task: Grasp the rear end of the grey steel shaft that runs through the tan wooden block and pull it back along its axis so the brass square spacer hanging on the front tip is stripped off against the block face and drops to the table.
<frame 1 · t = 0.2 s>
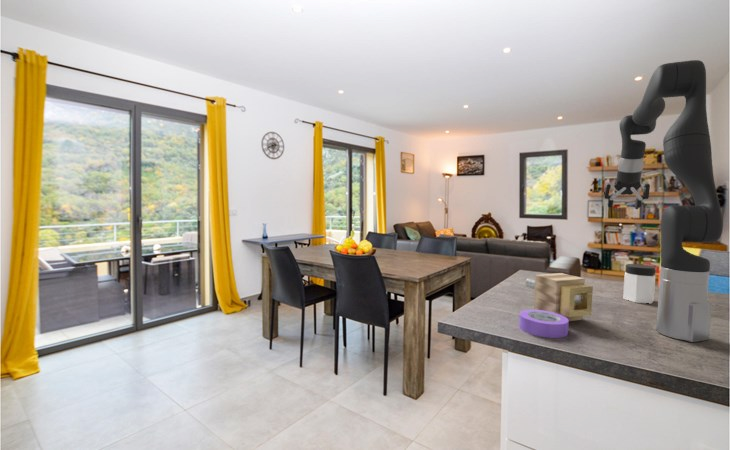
hand: (623, 208, 140), 31 cm above the worktop, tool tilted 20°, fingers open, 8 cm apart
jar: (638, 300, 122), on the worktop
spacer: (575, 314, 98), point 3 cm above the worktop, touching shaft
masking tape: (542, 330, 94), on the worktop
tan wooden block: (557, 316, 104), on the worktop
shaft: (552, 289, 106), point 8 cm above the worktop, slide at 0.0 cm, touching spacer
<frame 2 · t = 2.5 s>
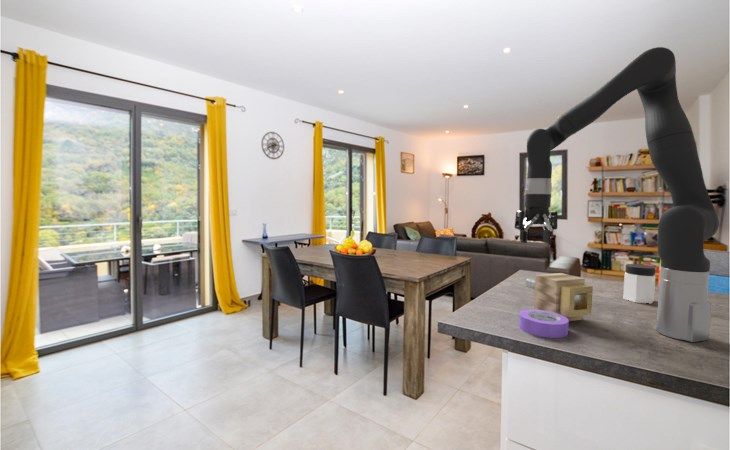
hand: (535, 242, 115), 21 cm above the worktop, tool pointing down, fingers open, 8 cm apart
nothing on the worktop moved.
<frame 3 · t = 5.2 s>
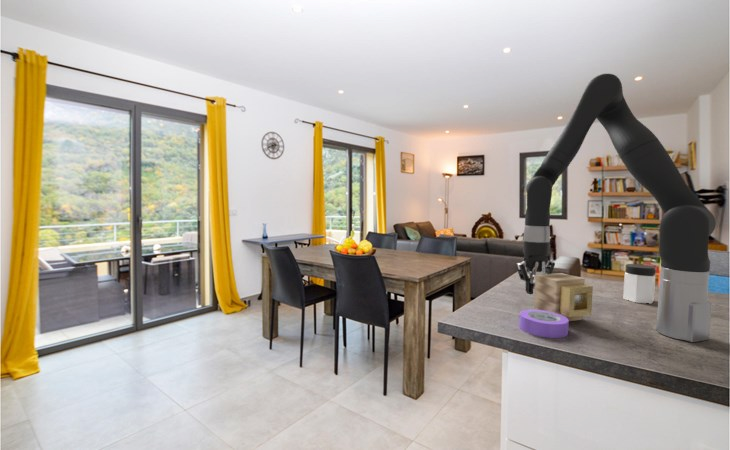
hand: (534, 293, 113), 5 cm above the worktop, tool pointing down, fingers closed on shaft, 3 cm apart
shaft: (552, 289, 106), point 8 cm above the worktop, slide at 0.0 cm, touching gripper, spacer
everything else where it was.
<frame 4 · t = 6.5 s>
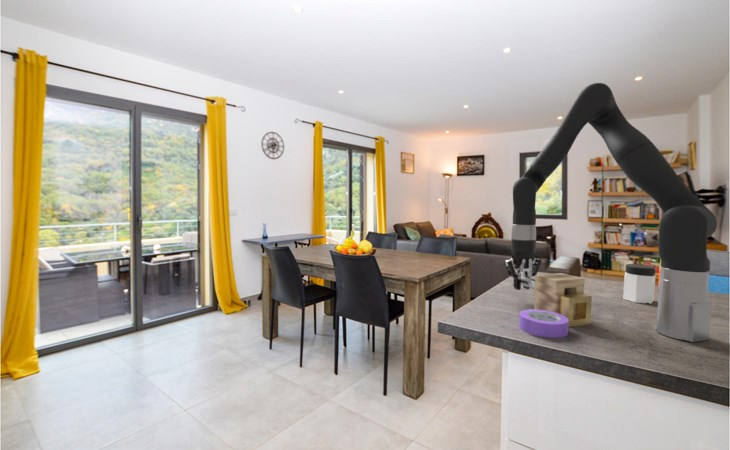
hand: (521, 288, 118), 5 cm above the worktop, tool pointing down, fingers closed on shaft, 3 cm apart
spacer: (574, 323, 99), on the worktop
shaft: (537, 285, 112), point 8 cm above the worktop, slide at 5.6 cm, touching gripper
everything else where it was.
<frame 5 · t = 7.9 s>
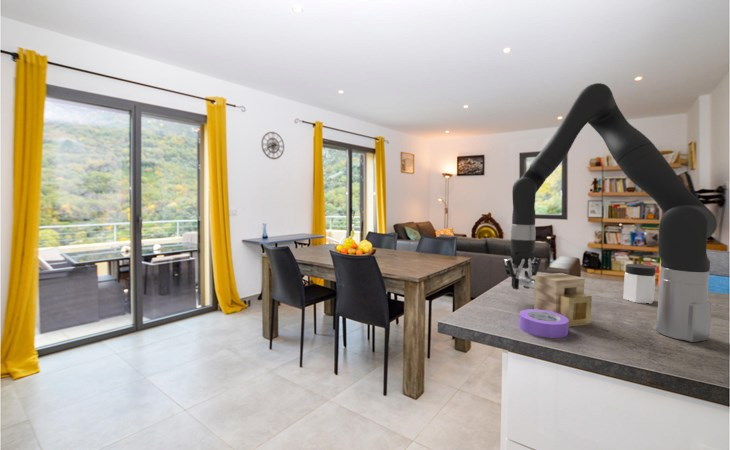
hand: (521, 288, 119), 5 cm above the worktop, tool pointing down, fingers open, 4 cm apart
shaft: (537, 285, 112), point 8 cm above the worktop, slide at 5.8 cm
everything else where it was.
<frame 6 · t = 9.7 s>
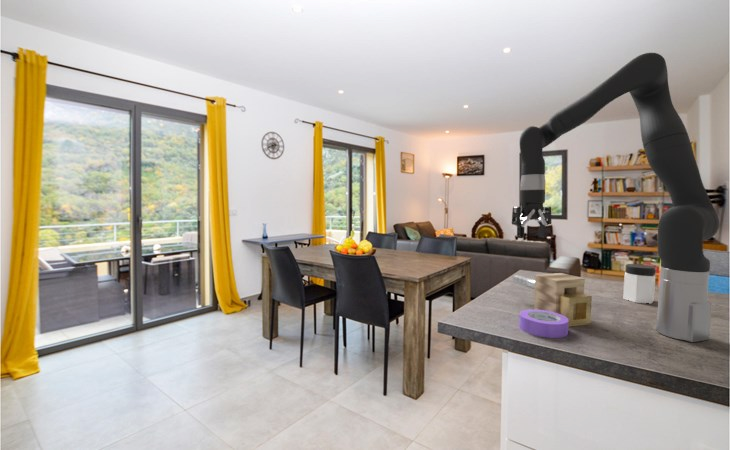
hand: (531, 237, 117), 22 cm above the worktop, tool pointing down, fingers open, 8 cm apart
nothing on the worktop moved.
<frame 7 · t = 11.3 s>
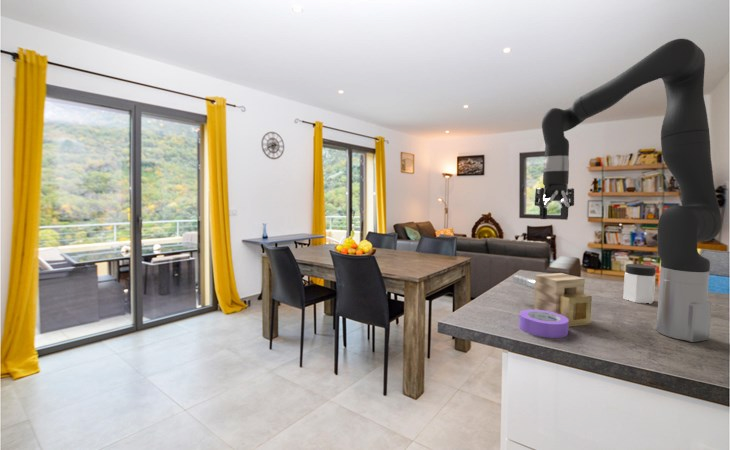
hand: (553, 219, 119), 28 cm above the worktop, tool pointing down, fingers open, 8 cm apart
nothing on the worktop moved.
at the end: spacer on the worktop; shaft slide at 5.8 cm; spacer touching worktop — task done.
